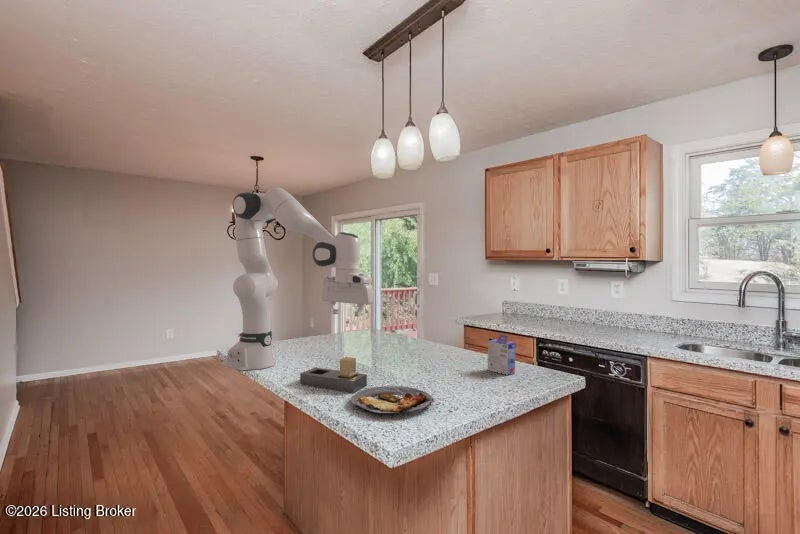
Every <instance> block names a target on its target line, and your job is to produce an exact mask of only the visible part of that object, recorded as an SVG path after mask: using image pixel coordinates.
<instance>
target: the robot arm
mask: <svg viewBox="0 0 800 534" xmlns="http://www.w3.org/2000/svg"><path fill="white" fill-rule="evenodd" d="M232 209H233V210H232V211H233V213H234V215H235V216H237V217H236V218H235V222H234V235H235V242H236V250H237V251H236V252H237V258H238V261H239V262H240V263H241V265H242V266H243V269H244V271H245V273H244V274H242V275H239V276H238V277H237V278H235V280H234V282H233V284H232V290H233V293H234V296H236V297H237V298H238V302H239V304H240V308H241V312H242V313H241V315H242V332H241V333H237V338H239V341H237V343H235V344H234V345H233V346H232V347H230V348H229V349H228V351H227V353H226V360H223V361H221V362H220V366H221V367H225V368H230V369H233V370H236V371H240V372H241V371H248V370H249V371H250V370H251V371H252V370H261V369H266V368H271V367H272V366H274V365H275V364H276V363H275V359H274V356H273V355H274V354H273V347H272V340H273V332H272V329H271V327H272V325H271V323H272V321H271V318H272V317H271V316H272V314H271V311H270V309H269V308H268V305H267V301H266V299H267V298H268V297H271V295H272V294H274V293H275V292H276V291H277V289H278V286H279V282H278V279H277V277H276V276H275V274H274V273H273V271H272V267H271V265H270V262H269V259H268V255H267V251H266V244H265V238H264V237H265V236H264V231H263V227H264V226H263V225H265V223H266V224H271V223H272V222H274V221H277V222H278V223H279V224H280V225H281V226H282V227H284V228H285V229H287V230H288V231H290V232H294V233H299V234H302V235H305V236H308V237H311V238H312V239H314V240H315V242H317V243H316V244H315V245H314V247H313V249H312V256H311V257H312V260H313V261H314V264H316V265H317V266H319V267H321V268H335V269H334V276H329V275H328V276H326V277H324V279H323V280H322V282H323V283H322V285H323V286H322V291H321V300H322V301H323V302H329V305H330V308H331V309H332V315H339V310H340V309H338V308H337V306H336V305H337V303H340V304H341V303H342V304H352V305H356V307H357V310H355V311H354V317H357V318H360V317H361V312H362V310H363V309H364V305H365V306H366V305H371V304H372V303H374V302H373V301H374V288H373V285H372V284H371V283H372V282H373V279H372V277H371V276H369V275H367V274H364V273H362V272H360V271H361V268H360V260H361V242H360V239H359V236H358V235H357V234H354V233H349V232H344V231H343V232H338V233H337V234H336V235H334V234H333V233H332V232H331V231H330V230H328V228H326V227H325V226H324V225H323V224H322V223H321V222H319V221H318V220H317V219H316V218H315V217H314V216H313V215H312V214H311V213H310V212H309V211H308V210H307V209H306V208H305V207H304V206H303V205H302V204H301V203H300V202H299V201H298V199H296V198H295V197H294V196H293V195H292V194H291V193H290V192H288V191H287V190H285V189H284V188H282V187H279V186H275V187H271V188H270V189H268V190H267V191H266V193H264V192H263V193H262V192H247V191H246V192H241V193H238V194H237V195H235V196H234V198H233V201H232Z"/></svg>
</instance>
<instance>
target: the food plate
mask: <svg viewBox="0 0 800 534" xmlns="http://www.w3.org/2000/svg"><path fill="white" fill-rule="evenodd" d="M396 395H398V396H396ZM401 395H402V396H403V397H402V396H401ZM350 401H351V404H352V405H354V406H358V407H360V408H362V409H363V410H367V411H369V412H372V413H376V414H381V415H402V414H404V415H405V414H411V413H414V412H417V411H420V410H423V409H427V408H429V407H430V406H432V403H433V402H434V401H435V400H434V398H433V396H432V395H431V394H430V393H428V392H426V391H424V390H421V389H418V388H414V387H410V386H404V385H402V386H401V385H400V386H399V385H395V386H389V385H384V386H383V385H382V386H375V387H369V388H366V389H363V390H358V391H357V392H355V393H354V394H353V395H352V396H351V399H350Z"/></svg>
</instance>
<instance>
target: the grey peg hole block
mask: <svg viewBox="0 0 800 534" xmlns="http://www.w3.org/2000/svg"><path fill="white" fill-rule="evenodd" d="M299 373H300V374H299V375H300V377H299V378H300V379H299V382H300V384H302V385H301V386H306V385H308V386H307V387H312V386H313V387H314V388H318V387H319V388H318V389H324V388H325V389H326V390H330V389H331V390H332V391H336V392H337V391H339V392H344V393H350V394H356V393H358V392H359V391H361V390H362V389H364V388H365V387H367V386H368V374H367V373H359V372H356V377H354V378H352V379H346V378H340V370H338V369H330V368H323V367H322V368H321V367H313V368H311V369H307V370H305V371H303V372H299ZM300 384H299V385H300ZM313 387H312V388H313ZM325 389H324V390H325Z"/></svg>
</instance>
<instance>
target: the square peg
mask: <svg viewBox="0 0 800 534" xmlns="http://www.w3.org/2000/svg"><path fill="white" fill-rule="evenodd" d="M356 362H357V359H356V357H350V356H349V357H348V356H345V357H343V358H340V359H339V371H340V378H346V379H352V378H354V377H356V373H357V370H356V368H357V367H356V366H357V365H356Z"/></svg>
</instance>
